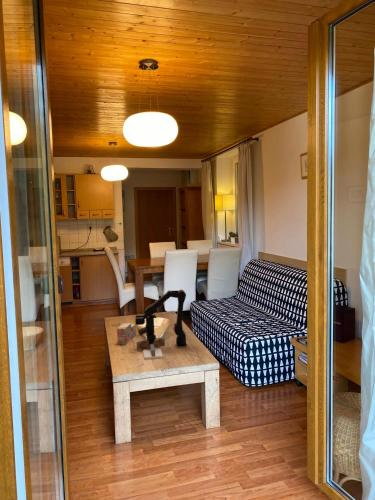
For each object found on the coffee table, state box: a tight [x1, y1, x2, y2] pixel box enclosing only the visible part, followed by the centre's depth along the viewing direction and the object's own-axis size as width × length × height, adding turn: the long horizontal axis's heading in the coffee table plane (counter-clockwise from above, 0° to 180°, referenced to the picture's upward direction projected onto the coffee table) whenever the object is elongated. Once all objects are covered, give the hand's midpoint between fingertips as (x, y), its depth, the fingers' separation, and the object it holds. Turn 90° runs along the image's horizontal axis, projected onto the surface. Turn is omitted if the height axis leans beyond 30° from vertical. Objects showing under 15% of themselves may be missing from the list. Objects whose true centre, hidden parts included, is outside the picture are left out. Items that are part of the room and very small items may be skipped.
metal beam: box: [135, 336, 166, 351], centre depth 281 cm, size 20×4×5 cm, turn 118°
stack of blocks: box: [116, 322, 137, 346], centre depth 297 cm, size 21×6×12 cm, turn 166°
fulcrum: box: [142, 344, 164, 360], centre depth 265 cm, size 12×14×6 cm
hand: (150, 345), depth 281 cm, fingers closed on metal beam, 5 cm apart
